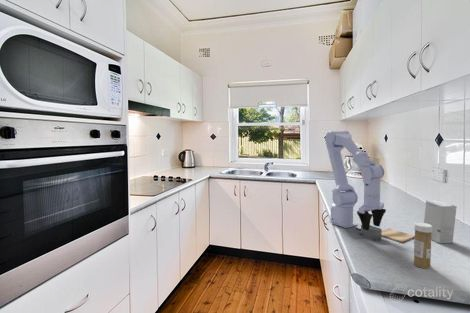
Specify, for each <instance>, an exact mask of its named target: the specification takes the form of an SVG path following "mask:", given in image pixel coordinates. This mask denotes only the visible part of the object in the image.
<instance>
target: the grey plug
mask: <svg viewBox="0 0 470 313" xmlns="http://www.w3.org/2000/svg"><path fill="white" fill-rule="evenodd" d="M355 231H358V232H360V236H362V237H364V238H365V239H366V238H367V239H369V240H372V241H378V242H379V241H382V236H381V235H382V231H383V230H382V228H380V227H378V226H375V225H371V224H370V227H369V230H364V229H363V227H362V224H360V228H359V227H356V228H355Z"/></svg>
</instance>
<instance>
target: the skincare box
mask: <svg viewBox="0 0 470 313" xmlns="http://www.w3.org/2000/svg"><path fill="white" fill-rule="evenodd" d="M456 215H457V206H456V205H454V204H451V203H448V202H445V201H441V200H435V199H433V200H426V201H425V209H424V217H423V218H424V219H423V223H427V224H430V225H432V233H431V241H433V242H436V243H437V244H453V243H454V234H455V233H454V232H455V224H456Z"/></svg>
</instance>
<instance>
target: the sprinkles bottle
mask: <svg viewBox="0 0 470 313" xmlns="http://www.w3.org/2000/svg"><path fill="white" fill-rule="evenodd" d="M431 233H432V225H430V224H427V223H424V222H420V221H419V222H415V223H414V236H415V237H414V238H413V240H414V242H413V243H414V245H413V265H415V266H416V267H417V268H420V269H425V270H426V269H430V268H431V266H432V265H431V257H432V240H431Z"/></svg>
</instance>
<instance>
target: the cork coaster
mask: <svg viewBox="0 0 470 313" xmlns="http://www.w3.org/2000/svg"><path fill="white" fill-rule="evenodd" d="M381 238H386V239H388V240H391V241H395V242H398V243H401V244H403V243H405V242H407V241H410V240H412V239H414V238H415V234H414V235H413V234H410V233H406V232H403V231H399V230H397V229H393V228H387V229H384V230H382V235H381Z"/></svg>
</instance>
